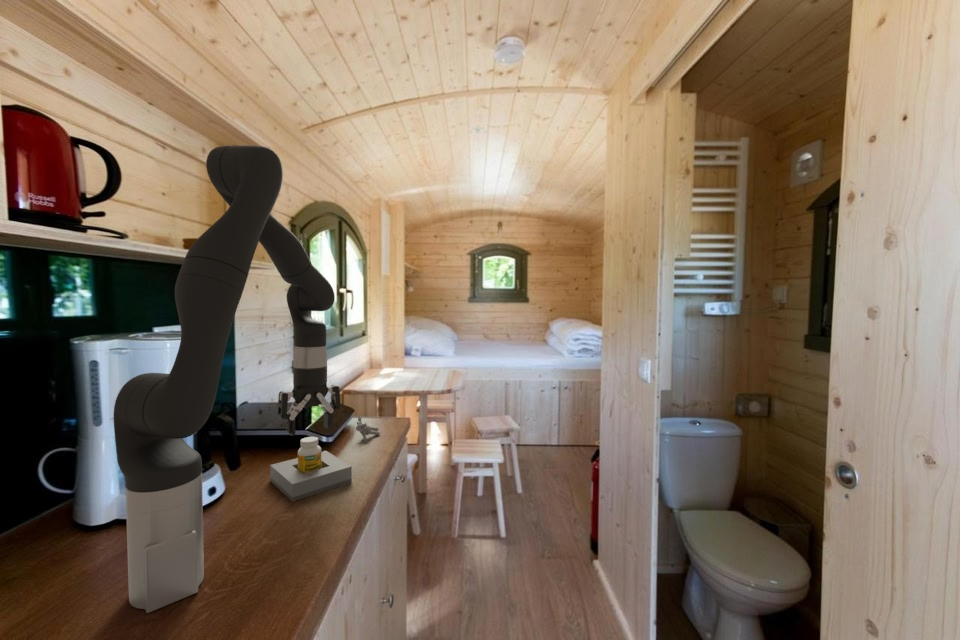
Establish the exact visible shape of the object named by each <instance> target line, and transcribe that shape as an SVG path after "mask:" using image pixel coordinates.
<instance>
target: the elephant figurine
mask: <svg viewBox="0 0 960 640" xmlns="http://www.w3.org/2000/svg"><path fill="white" fill-rule="evenodd" d="M357 419H358V420H357V421H356V426H355V430H356V431H358V432H359V433H360V435H361V437H363V442H364V443H365V444H366V443H368V438H367V436H369V435H375V436H380V435H381V431H379V430H380V428H379V427H374V426H370V425H368V424H367V422H365V423H363V422H362V417H361V416H357Z"/></svg>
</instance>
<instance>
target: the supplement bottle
mask: <svg viewBox="0 0 960 640" xmlns="http://www.w3.org/2000/svg"><path fill="white" fill-rule="evenodd" d="M299 445H300V447H299V449H298V450H297V458H298V470H299V471H300V472H301V473H302V474H304V473H307V472H311V471H314V470H318V469H321V468H322V463H321V452H322V447H321V446H320V445H319V437H317V436H307V437H306V436H305V437H304V438H301V439H300V444H299Z"/></svg>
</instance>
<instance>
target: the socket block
mask: <svg viewBox="0 0 960 640" xmlns="http://www.w3.org/2000/svg"><path fill="white" fill-rule="evenodd" d="M321 463H322V468H321V469H318V470H314V471H311V472H307V473H304V474H302V473H301V472H300V471H299V470H298V457H296V458H293V459H287V460H285V461H280V462H277V463H273V464H272V463H271V464H270V465H269V469H270V470H269V476H270V477H269V478H270V480H269V481H270V482H271V484H273V485H274V487H276V488H277V489H278V490H279V491H280V492H281V493H282V494H283V495H285V496H286V497H287V498H288V499H289V500H290V501H291V502H292V503H293V502H297V501H299V499H300V500H303V499H305V497H306V498H308V496H309V497H311V496H315V495H318V494H321V493H324V492H326V491H329V490H333V489H337V488H340V487H342V486H344V484H345V485H348V484H351V483H352V482H353V481H352V479H353V478H352V470H353V469H352V468H353V467H352V465H350V464H349V463H347V462H345V461H344V460H342V459H341V458H338V456H336V455H334V454H332V453H331V452H329V451H327V450H323V451H321ZM347 483H348V484H347ZM341 485H342V486H341ZM332 488H333V489H332ZM314 494H315V495H314ZM302 498H303V499H302ZM296 500H297V501H296Z"/></svg>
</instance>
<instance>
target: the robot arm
mask: <svg viewBox="0 0 960 640" xmlns="http://www.w3.org/2000/svg"><path fill="white" fill-rule="evenodd" d="M205 167H206V173H207V175H208V177H209V180H210V182H211V184H212V186H213V187H214V189H215V190H216V191H217V193H218V194H219V195H220V196H221V198H222V199H223V201H225V202H226V204H228V206H229V207H228V209H227V210H226V211H225V212H224V213H223V215H222V216H220V218H218V219H217V220H216V221H215V222H214V223H213V224H211V225H210V226H209V227H208V228H207V229H206V230H205V231H204V232H203V233H202V234H201V235H200V236H199V237H198V238H197V239H196V240H195V241H194V242H193V243H192V245H191V246H190V247H189V249H188V251H187V252H186V254H185V257H184V258H183V259H184V260H183V261H182V264H181V268H180V270H179V272H178V274H177V278H176V281H175V286H174V299H175V306H176V311H177V316H178V320H179V321H178V322H179V326H180V343H179V347H178V350H177V354H176V357H175V359H174V362H173V365H172V368H171V370H170V372H169V373H163V372H162V373H161V372H147V373H142V374H139V375H136V376H134V377H132V378H130V379H129V380H128V381H127V382H125V384H124V385H123V386H122V387H121V388H120V390H119V392H118V393H117V396H116V399H115V402H114V407H113V431H114V440H115V442H114V443H115V450H116V451H115V452H116V459H117V465H118V468H119V470H120V472H121V474H122V475H123V476H124V480H125V498H126V499H125V501H126V505H125V506H126V508H125V509H126V511H125V512H126V516H125V517H126V540H127V541H126V546H127V549H126V550H127V576H128V578H127V580H128V583H127V584H128V603H129V604H130V605H131V607H133V608H134V609H135V608H136V609H141V610H145V612H146V614H148V613H151V612H154V611H156V610H158V609H161V608H163V607H166V606H169V605H171V604H173V603H175V602H177V601H180V600H183V599H185V598H188V597H189V596H193V595H195V594H197V593H198V592H199V586H201V584H202V582H203V580H204V577H205V570H204V569H205V565H204V564H205V560H204V559H205V558H204V557H205V556H204V555H205V554H204V553H205V552H204V515H203V514H204V513H203V510H204V509H203V507H204V506H203V462H202V461H203V458H202V456H201V454H200V453H199V452H198V451H197V450H195V449H194V448H193V447H191V446H190V445H189V444H188V443H187V441H185V438H188V437H189V438H190V437H191V436H193V435H195V434H196V433H198V431H200V430H201V429H202V428H203V426H204V425H205V424H206V423H207V422H208V420H209V418H210V416H211V413H212V411H213V408H214V405H215V402H216V397H217V393H218V387H219V383H220V377H221V371H222V365H223V362H224V356H225V353H226V348H227V344H228V340H229V337H230V334H231V330H232V326H233V322H234V319H235V316H236V312H237V309H238V307H239V305H240V301H241V299H242V296H243V292H244V289H245V286H246V283H247V280H248V277H249V272H250V269H251V267H252V266H251V265H252V262H253V259H254V256H255V252H256V250H257V248H258V244H261V246H262V247H263V249H264V250H265V252H266V253H267V254H268V256H269V258H270V259H271V261H272V263H273V265H274V267H275V269H276V270H277V271H278V273H279V276H281V278H282V280H283V281H284V282H286V283H287V284H290V285H289V287H288V289H287V292H286V302H287V306H288V310H289V313H290V317H291V320H292V325H293V328H294V350H293V361H292V366H293V367H292V369H293V371H292V372H293V375H292V376H293V379H292V380H293V389H292V391H283V390H282V391H279V392H278V401H277V403H278V404H277V412H276V413H277V417H279V418H280V419H282V420H286V422H285V423H286V425H285V427H286V428H285V431H286V433H287V434H289V436H296V419H295V418H296V417H297V416H298V414H300V412H302V411H303V408H305V409H308V408H311V407H319V406H321V408H322V409H323V410H324V412H323V427H324V429H330V428H331V426H333V413H334V412H335V411H337V410H340V409H341V392H340V391H341V389H340V386H338V385H336V384H331V386H328V385H327V383H328V352H327V325H326V323H324V322H323V321H321V320H320V321H318V320H316V319H313V318H312V316H311V314H310V312H326V311H328V310H329V309H331V308H332V307H333V305H334V303H335V298H336V297H335V291H334V289H333V286H332V285H331V283H330V282H329V281H328V280H327V278H326V277H325V276H324V275H323V274H322V273H321V272H320V271H319V269H318V268H317V267H315V266H314V265H313V263H312V261H311V260H310V259H311V258H310V257H309V255H308V253H307V252H306V249H305V247H304V246H303V244H302V242H301V241H300V239H298V237H297V236H296V235H295V234H294V233H293V232H292V231H291V230H290V229H288V228H287V227H286V226H284V224H283V223H282V222H280V221H279V220H278V219H277V218H276V217H275V216H273V215H272V211H273V208H274V206H275V204H276V202H277V199H278V197H279V195H280V192H281V189H282V185H283V178H284V170H283V169H284V168H283V165H282V161H281V159H280V157H279V155H278V154H277V153H276V152H275V151H274V150H273V149H271V148H270V147H267V146H263V145H253V144H252V145H249V144H248V145H247V144H246V145H243V144H242V145H221V146H216V147H214V148H212V149H211V150H210V152H208V155H207V157H206V166H205ZM328 393H329V395H330V399H331V400H330V402H329V401H328V400H327V399H326V396H327V395H328ZM292 398H293V399H294V401H293V402H292V404H291V405H290V408H289V409H288V405H289V404H288V402H289V401H290V400H291V399H292Z"/></svg>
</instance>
